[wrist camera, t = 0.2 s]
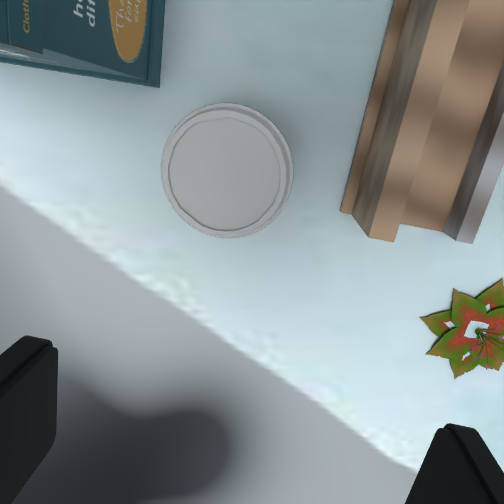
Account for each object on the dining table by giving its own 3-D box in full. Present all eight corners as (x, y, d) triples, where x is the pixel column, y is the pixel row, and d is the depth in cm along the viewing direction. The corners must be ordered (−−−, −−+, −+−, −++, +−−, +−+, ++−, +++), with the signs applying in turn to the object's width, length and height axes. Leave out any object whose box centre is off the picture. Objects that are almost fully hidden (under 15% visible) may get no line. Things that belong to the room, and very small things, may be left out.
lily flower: (550, 345, 42) (581, 371, 38) (445, 390, 45) (462, 419, 40) (508, 256, 39) (536, 273, 35) (398, 310, 42) (412, 331, 38)
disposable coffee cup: (305, 129, 36) (315, 133, 25) (269, 221, 39) (264, 261, 28) (210, 93, 36) (177, 79, 25) (182, 188, 39) (140, 215, 28)
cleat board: (399, -23, 32) (441, -76, 23) (556, 5, 32) (655, -37, 23) (339, 210, 38) (355, 234, 30) (468, 234, 38) (521, 266, 30)
